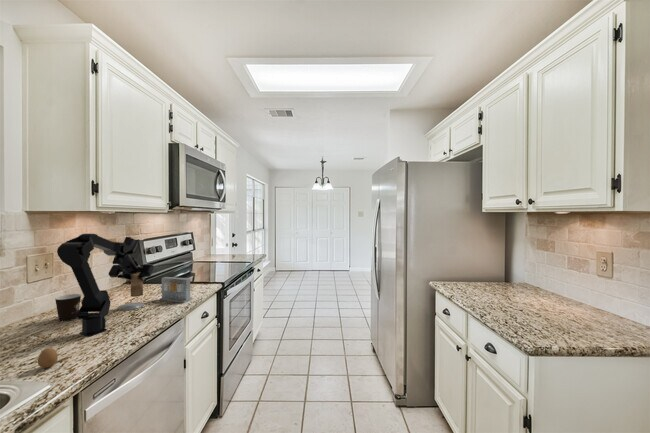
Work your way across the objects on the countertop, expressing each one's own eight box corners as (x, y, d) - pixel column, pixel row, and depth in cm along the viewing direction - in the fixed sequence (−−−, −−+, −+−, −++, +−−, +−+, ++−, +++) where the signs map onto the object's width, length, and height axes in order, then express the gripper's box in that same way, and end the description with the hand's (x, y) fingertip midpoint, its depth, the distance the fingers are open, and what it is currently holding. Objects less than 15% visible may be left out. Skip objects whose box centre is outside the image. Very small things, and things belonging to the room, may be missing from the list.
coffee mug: (65, 323, 123) (65, 300, 122) (50, 321, 124) (49, 298, 124) (92, 313, 134) (92, 292, 134) (78, 312, 136) (77, 291, 136)
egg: (42, 372, 85) (42, 352, 85) (34, 369, 87) (34, 349, 86) (61, 365, 89) (60, 346, 89) (52, 362, 91) (52, 343, 91)
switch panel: (184, 302, 150) (184, 280, 150) (159, 300, 154) (159, 278, 154) (192, 299, 156) (192, 277, 156) (168, 297, 160) (168, 276, 160)
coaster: (127, 311, 137) (127, 310, 137) (112, 308, 141) (112, 307, 141) (149, 305, 147) (149, 303, 147) (134, 302, 151) (134, 301, 151)
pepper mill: (138, 296, 142) (138, 265, 142) (128, 296, 142) (128, 265, 142) (145, 293, 147) (145, 263, 147) (135, 293, 147) (135, 263, 147)
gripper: (152, 248, 141) (162, 266, 152) (112, 248, 139) (125, 267, 150) (143, 266, 134) (155, 284, 145) (101, 267, 132) (116, 285, 143)
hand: (138, 279), depth 146 cm, fingers closed on pepper mill, 5 cm apart
